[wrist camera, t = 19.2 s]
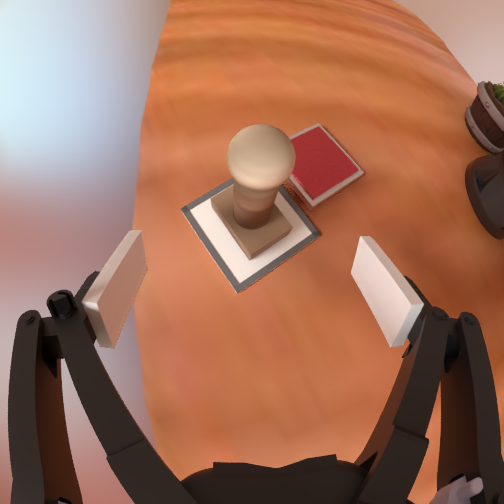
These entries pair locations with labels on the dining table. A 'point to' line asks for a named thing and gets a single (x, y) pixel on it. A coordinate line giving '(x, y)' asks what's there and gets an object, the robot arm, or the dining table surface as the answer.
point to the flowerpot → (487, 117)
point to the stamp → (256, 188)
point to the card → (228, 250)
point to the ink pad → (320, 166)
